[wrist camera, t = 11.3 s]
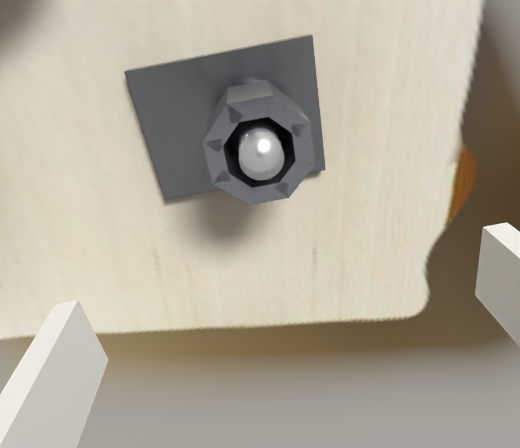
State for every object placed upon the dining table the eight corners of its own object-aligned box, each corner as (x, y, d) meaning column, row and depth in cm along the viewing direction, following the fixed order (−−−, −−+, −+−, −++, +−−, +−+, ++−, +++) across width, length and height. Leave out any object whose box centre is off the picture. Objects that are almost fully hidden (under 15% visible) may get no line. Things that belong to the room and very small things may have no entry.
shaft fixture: (127, 69, 34) (79, 95, 23) (309, 34, 33) (345, 43, 23) (166, 194, 40) (142, 260, 29) (323, 165, 39) (356, 221, 29)
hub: (201, 92, 31) (194, 110, 25) (293, 75, 31) (306, 88, 25) (221, 178, 35) (219, 210, 29) (303, 162, 34) (317, 192, 29)
